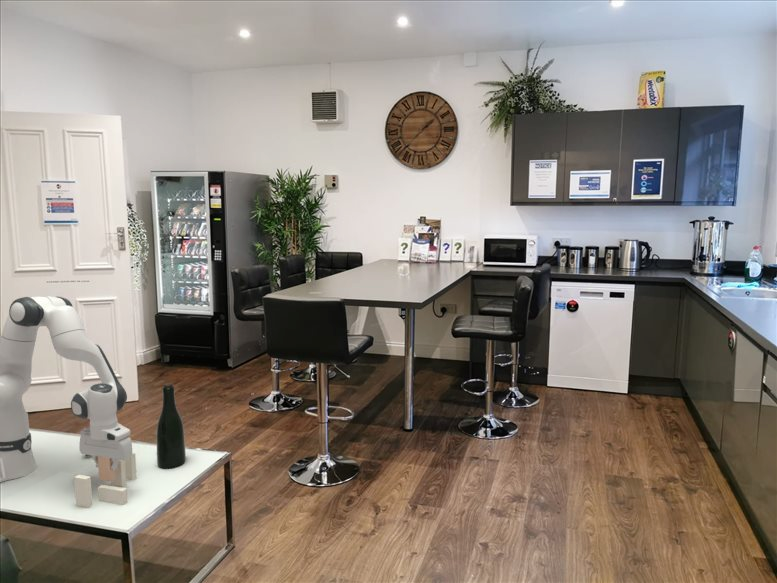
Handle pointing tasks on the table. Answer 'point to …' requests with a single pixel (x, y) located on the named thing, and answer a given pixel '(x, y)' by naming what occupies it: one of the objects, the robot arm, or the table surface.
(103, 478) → the domino
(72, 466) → the table surface
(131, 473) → the domino
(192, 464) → the table surface
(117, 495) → the domino
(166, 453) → the dark green wine bottle
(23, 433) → the robot arm
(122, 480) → the domino
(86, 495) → the domino
